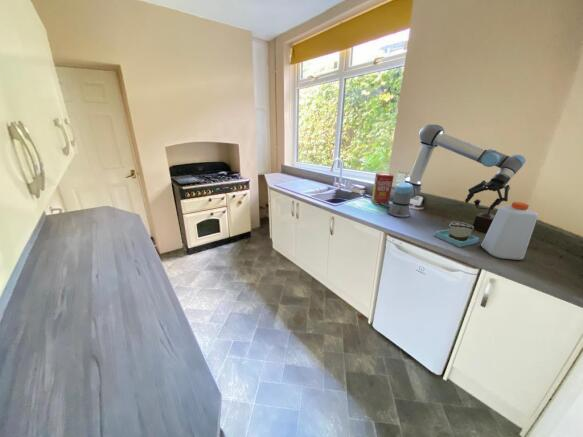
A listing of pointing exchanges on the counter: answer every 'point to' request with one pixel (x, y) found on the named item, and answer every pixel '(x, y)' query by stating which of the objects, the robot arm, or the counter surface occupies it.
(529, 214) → the plastic bottle
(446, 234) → the tray
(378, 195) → the food packaging
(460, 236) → the food container
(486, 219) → the pepper mill
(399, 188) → the robot arm
